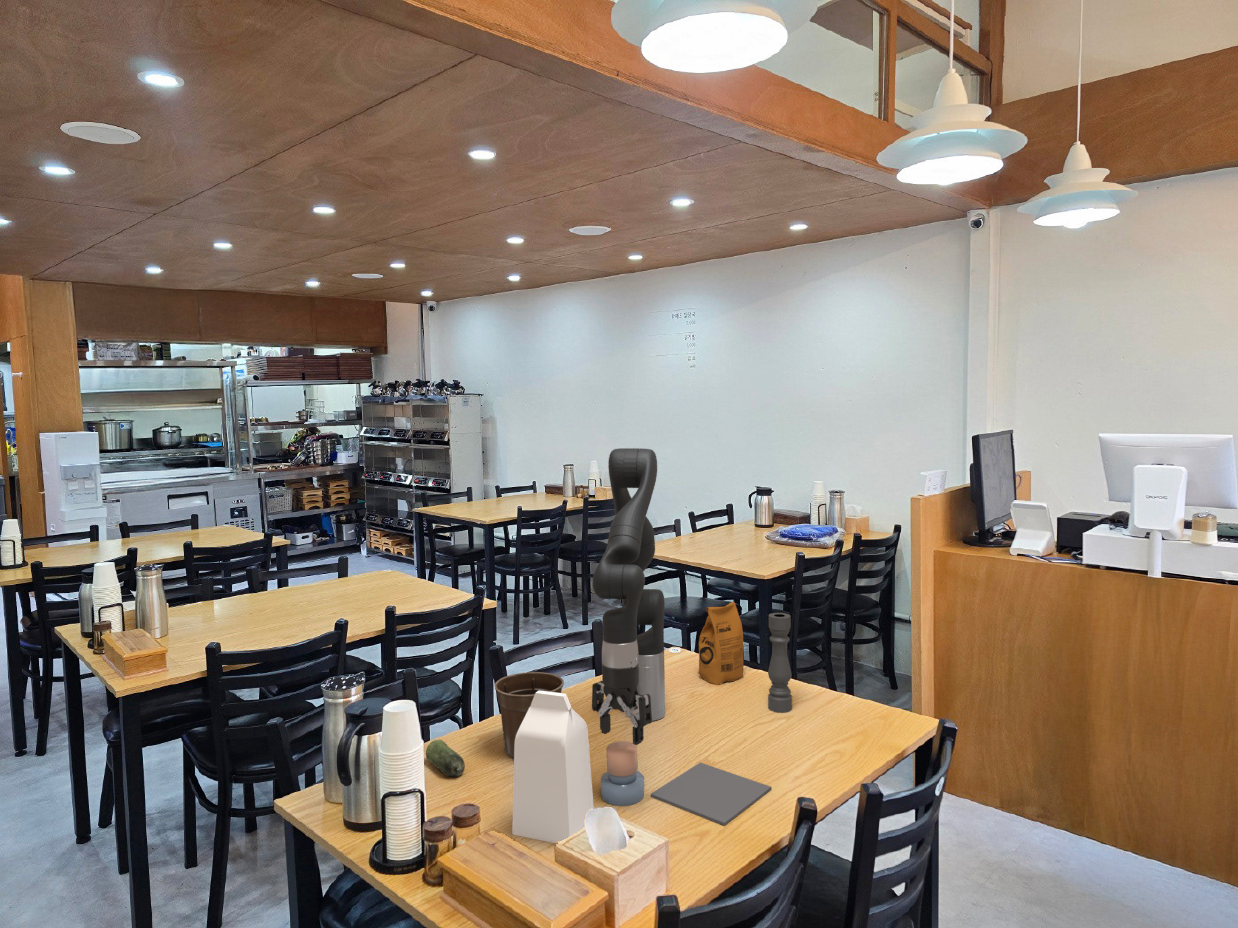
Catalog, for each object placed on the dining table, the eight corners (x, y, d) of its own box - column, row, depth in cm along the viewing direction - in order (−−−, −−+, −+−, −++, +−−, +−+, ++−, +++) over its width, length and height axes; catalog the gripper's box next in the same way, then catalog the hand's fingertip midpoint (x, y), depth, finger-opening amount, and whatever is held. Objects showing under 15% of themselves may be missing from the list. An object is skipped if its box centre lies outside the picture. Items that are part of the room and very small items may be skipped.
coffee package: (694, 677, 228) (693, 604, 227) (726, 669, 235) (725, 598, 233) (715, 687, 220) (714, 611, 218) (748, 678, 226) (747, 605, 225)
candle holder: (793, 705, 205) (792, 613, 204) (790, 713, 200) (790, 619, 198) (769, 702, 208) (769, 611, 206) (766, 711, 202) (765, 617, 200)
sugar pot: (592, 796, 159) (591, 770, 158) (620, 779, 166) (619, 755, 165) (625, 810, 153) (624, 783, 153) (653, 792, 160) (652, 767, 159)
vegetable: (422, 761, 177) (421, 740, 176) (443, 754, 180) (443, 734, 180) (448, 784, 166) (447, 761, 165) (470, 777, 169) (469, 754, 168)
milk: (512, 834, 145) (508, 700, 143) (539, 804, 156) (536, 679, 154) (569, 845, 141) (566, 708, 139) (594, 814, 152) (591, 686, 150)
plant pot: (528, 729, 193) (527, 666, 192) (579, 744, 184) (577, 678, 183) (482, 753, 180) (479, 686, 179) (533, 771, 170) (531, 700, 169)
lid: (600, 770, 159) (599, 748, 158) (620, 759, 163) (620, 738, 163) (624, 779, 154) (623, 757, 154) (643, 767, 159) (643, 746, 159)
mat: (650, 796, 158) (650, 793, 158) (700, 764, 172) (700, 762, 172) (724, 825, 147) (724, 822, 147) (771, 789, 160) (771, 786, 160)
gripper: (582, 658, 159) (584, 735, 160) (635, 672, 150) (636, 753, 151) (606, 650, 165) (607, 723, 166) (658, 662, 156) (660, 740, 157)
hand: (621, 737), depth 158 cm, fingers open, 8 cm apart
